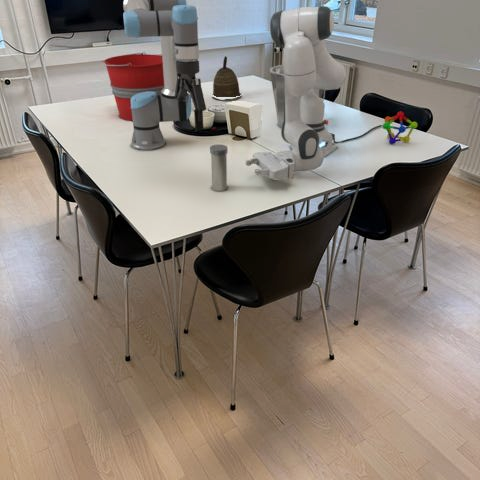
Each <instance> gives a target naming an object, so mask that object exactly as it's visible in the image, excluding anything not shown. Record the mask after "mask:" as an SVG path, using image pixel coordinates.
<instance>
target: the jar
mask: <svg viewBox="0 0 480 480" xmlns="http://www.w3.org/2000/svg"><path fill="white" fill-rule="evenodd" d="M227 155H228V154H225V155H212V154H211V153H210V161H211V162H210V163H211V189H212V190H213V191H215V192H223V191H226V190H227V189H228V170H227V169H228V168H227V162H228V161H227V159H228V158H227Z"/></svg>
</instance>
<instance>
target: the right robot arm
mask: <svg viewBox="0 0 480 480" xmlns="http://www.w3.org/2000/svg"><path fill="white" fill-rule="evenodd" d="M334 27H335V18H334V14H333V11H332V9H331V8H330V7H328V6H325V5H319V6H302V7H297V8H291V9H287V10H279V11H276V12H274V13H273V14H272V16H271V18H270V21H269V34H270V37H271V40H272V41H273V42H274V43H275V44H276V45H277V46H279V48H280V49H281V50H283V60H282V61H283V64H282V65H283V66H284V80H285V88H284V122H283V125H282V128H281V131H280V133H281V138H282V140H283V141H284V142H286V143H287V144H289V145H290V148H291V150H285V151H278V152H277V153H276V154H274V153H272V152H270V151H260V152H259V151H258V152H254V153H253V154H252V158H250V159H246V160H245V165H246V166H247V167H249V166H250V167H251V166H252V165H256V166H257V167H258V168H255V169H254V174H255V175H256V176H268V177H269V179H271V180H273V181H280V180H292V179H294V175H295V173H297V172H300V173H303V172H308V171H309V172H310V171H313V170H316V169H318V168H320V167H321V166H322V165H323V163H324V159H325V157H327V156H328V155H329V154H331V153H332V152H334V151H335V150H336V149H338V145H337V144H341V143H345V142H348V141H353V140H356V139H360V138H362V137H364V136H365V135H367V134H369V133H370V132H372V131H373V130H376V129H377V128H381V127H383V124H379V125H377V126H374V127H372V128H370V129H369V130H368V131H366V132H364V133H362V134H361V135H358V136H356V137H352V138H347V139H344V140H342V141H336V137H335V136H336V134H335V133H332V132H330V131H329V130H327V129H326V127H325V126H328V125H329V124H330V121H329V120H328V119H324V118H325V117H324V116H325V106H326V105H325V102H324V100H323V98H322V97H321V98H320V97H318V96H317V95H316V94H315V92H314V90H313V88H316V89H324V90H325V91H332V90H339V89H340V88H341V87H342V86H343V85H344V83H345V81H346V78H347V71H346V68H345V66H344V65H343V64H342V63H340V62H338V61H337V60H336V59H335V58H334V57H333V56H332V55H331V54H330V53H329V51H328V48H327V46H326V41H325V40H326V39H329V38H330V37H331V35H332V33H333V30H334Z"/></svg>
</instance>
